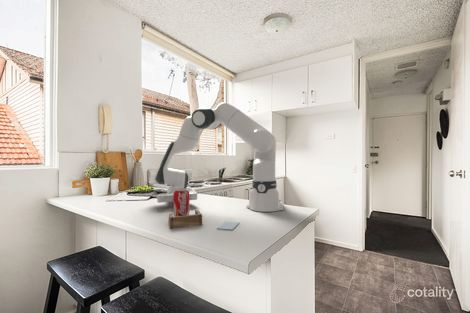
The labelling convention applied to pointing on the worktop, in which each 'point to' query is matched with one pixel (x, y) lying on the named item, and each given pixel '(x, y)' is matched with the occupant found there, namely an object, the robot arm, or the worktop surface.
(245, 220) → the worktop surface
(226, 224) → the slate card
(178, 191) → the soda can
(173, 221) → the can rack
